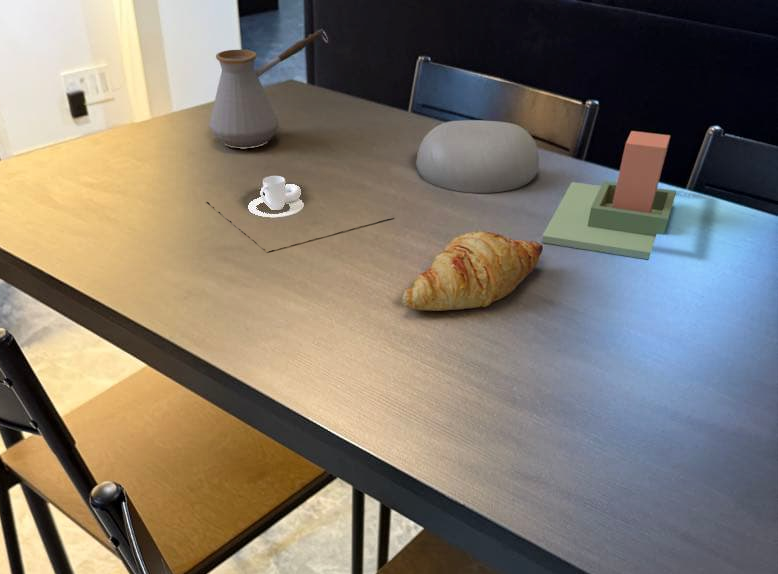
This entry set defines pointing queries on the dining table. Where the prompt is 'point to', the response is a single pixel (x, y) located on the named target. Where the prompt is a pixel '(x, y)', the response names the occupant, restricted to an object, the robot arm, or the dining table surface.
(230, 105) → the coffee pot
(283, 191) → the teacup and saucer
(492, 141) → the grey dome pebble
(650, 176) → the foam block
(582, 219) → the socket pad
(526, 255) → the croissant
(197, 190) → the dining table surface
